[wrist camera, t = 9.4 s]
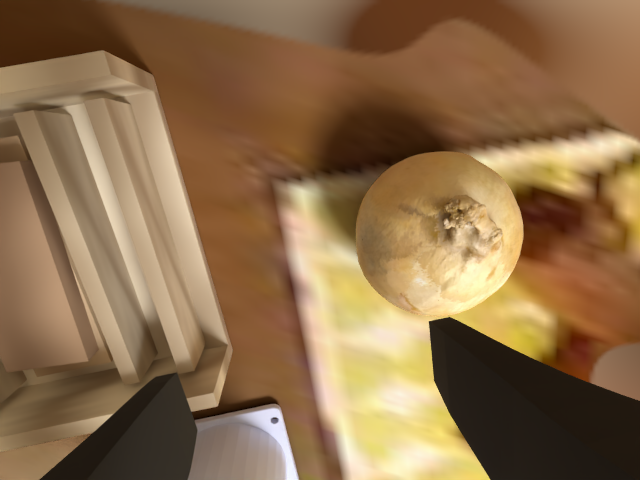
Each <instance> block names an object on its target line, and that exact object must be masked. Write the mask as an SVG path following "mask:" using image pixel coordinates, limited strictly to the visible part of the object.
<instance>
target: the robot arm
mask: <svg viewBox="0 0 640 480" xmlns="http://www.w3.org/2000/svg"><path fill="white" fill-rule="evenodd" d="M429 328H430V339H431V350H432V361H433V372H434V381H435V383H436V385H437V388H438V390H439V392H440V394H441V396H442V398H443V401H444V403H445V405H446V407H447V409H448V411H449V413H450V415H451V417H452V418H453V420H454V421H455V423H456V425H457V426H458V428H459V430H460V431H461V433H462V434H463V436H464V438H465V439H466V441H467V443H468V444H469V446H470V447H471V449H472V451H473V452H474V454H475V455H476V457H477V459H478V460H479V462H480V463H481V465H482V467H483V468H484V470H485V471H486V473H487V475H488V476H489V478H490V479H491V480H640V401H638V400H635V399H632V398H629V397H626V396H623V395H621V394H618V393H615V392H612V391H610V390H607V389H604V388H602V387H599V386H597V385H594V384H591V383H589V382H586V381H583V380H581V379H578V378H576V377H573V376H571V375H568V374H566V373H564V372H561V371H559V370H557V369H555V368H552V367H550V366H548V365H546V364H543V363H541V362H539V361H537V360H534V359H532V358H530V357H528V356H526V355H524V354H522V353H520V352H518V351H516V350H514V349H512V348H510V347H508V346H506V345H504V344H502V343H500V342H498V341H496V340H494V339H492V338H490V337H488V336H486V335H484V334H482V333H480V332H478V331H476V330H475V329H473V328H471V327H469V326H467V325H465V324H463V323H461V322H459V321H457V320H455V319H453V318H451V317H448V318H443V319H438V320H433V321H429ZM273 417H277V419H272V418H273ZM40 480H299V477H298V474H297V470H296V466H295V462H294V458H293V454H292V450H291V446H290V442H289V439H288V435H287V431H286V427H285V423H284V419H283V415H282V411H281V408H280V406H279V405H277V404H269V405H264V406H259V407H255V408H250V409H245V410H240V411H236V412H231V413H226V414H222V415H217V416H212V417H207V418H203V419H198V420H194V418H193V415H192V412H191V410H190V407H189V404H188V401H187V398H186V396H185V393H184V390H183V387H182V384H181V382H180V379H179V376H178V373H177V372H176V373H171V374H166V375H161V376H156V377H154V378H153V379H152V380H151V381H149V382H148V383H147V384H146V385H145V386H144V387H142V388H141V389H140V390H139V391H138V392H137V393H136V394H135V395H133V396H132V397H131V398H130V399H129V400H128V401H127V402H126V403H125V404H124V405H123V406H122V407H120V408H119V409H118V410H117V411H116V412H115V413H114V414H113V415H112V416H111V417H110V418H109V419H107V420H106V421H105V422H104V423H103V424H102V425H101V426H100V427H99V428H98V429H97V430H96V431H94V432H93V433H92V434H91V435H90V436H89V437H88V438H87V439H86V440H85V441H83V442H82V443H81V444H80V445H79V446H78V447H76V448H75V449H74V450H73V451H72V452H71V453H70V454H68V455H67V456H66V457H65V458H64V459H63V460H62V461H60V462H59V463H58V464H57V465H56V466H55V467H53V468H52V469H51V470H50V471H49V472H48V473H47V474H45V475H44V476H43V477H42V478H41V479H40Z"/></svg>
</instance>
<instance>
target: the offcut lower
mask: <svg viewBox="0 0 640 480" xmlns="http://www.w3.org/2000/svg"><path fill="white" fill-rule="evenodd" d="M30 160H32V159H31V156H30V154H29V152H28V149H27V147H26V144H25V142H24V139H23V137H22V136H21V135H17V136H11V137H6V138H0V163H7V162H17V161H30ZM54 216H55V215H54ZM55 219H56V217H55ZM56 222H57V220H56ZM57 225H58V222H57ZM58 228H59V231H60V234H61V237H62V240H63V243H64V246H65V249H66V252H67V255H68V258H69V261H70V264H71V267H72V270H73V273H74V276H75V279H76V282H77V285H78V288H79V291H80V294H81V297H82V300H83V303H84V306H85V309H86V312H87V315H88V318H89V321H90V324H91V327H92V330H93V333H94V336H95V339H96V342H97V345H98V348H99V350H98V351H97V352H96V354H95V355H94V356H93V357H92V358H91V359H90V360H89V361H86V362H79V363H72V364H65V365H58V366H50V367H43V368H36V369H33V370H34V372H35V374H36V376H37V377H40V376H45V375H50V374H55V373H60V372H65V371H70V370H75V369H80V368H84V367H89V366H94V365H99V364H104V363H109V362H112V360H113V357H112V354H111V352H110V349H109V347H108V344H107V342H106V340H105V337H104V335H103V332H102V330H101V327H100V325H99V322H98V320H97V318H96V315H95V313H94V310H93V308H92V305H91V303H90V300H89V298H88V296H87V293H86V291H85V288H84V286H83V283H82V281H81V279H80V276H79V274H78V271H77V269H76V266H75V264H74V261H73V259H72V257H71V254H70V252H69V249H68V247H67V244H66V242H65V239H64V237H63V235H62V232H61V230H60V227H59V225H58Z"/></svg>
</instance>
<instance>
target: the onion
mask: <svg viewBox="0 0 640 480" xmlns="http://www.w3.org/2000/svg"><path fill="white" fill-rule="evenodd" d="M522 241H523V221H522V217H521V212H520V209H519V207H518V205H517V202H516V200H515V198H514V195H513V193H512V191H511V189H510V188H509V186H508V185H507V183H506V182H505V181H504V180H503V178H502V177H501V176H500V175H499V174H497V173H496V172H495V171H493V170H492V169H490V168H489V167H487V166H486V165H484V164H482V163H480V162H479V161H477V160H476V159H474V158H473V157H471V156H469V155H467V154H464V153H460V152H448V151H447V152H446V151H445V152H444V151H442V152H429V153H423V154H418V155H414V156H411V157H409V158H406V159H404V160H402V161H400V162H398V163H396V164H395V165H393V166H391V167H390V168H388V169H387V170H386V171H385V172H384V173H382V174H381V175H380V176H379V178H378V179H377V180H376V181H375V182H374V183H373V185H372V186H371V187H370V188H369V190H368V191H367V193H366V195H365V197H364V198H363V200H362V202H361V206H360V209H359V212H358V216H357V222H356V248H357V255H358V262H359V264H360V267H361V269H362V271H363V273H364V276H365V277H366V279H367V280H368V282H369V283H370V284H371V286H372V287H373V288H374V289H375V290H376V291H377V292H378V293H379V294H380V295H381V296H382V297H384V298H385V299H386V300H388V301H389V302H390V303H392V304H393V305H395V306H397V307H399V308H401V309H403V310H405V311H408V312H411V313H414V314H418V315H424V316H446V315H452V314H457V313H460V312H463V311H465V310H468V309H470V308H472V307H474V306H476V305H477V304H479V303H481V302H483V301H484V300H485V299H487V298H488V297H489V296H490V295H492V294H493V293H494V292H496V291H497V290H498V289H499V288H500V287H501V286H502V285H503V284H504V283H505V282H506V280H507V279H508V277H509V276H510V274H511V273H512V271H513V269H514V267H515V265H516V263H517V261H518V258H519V255H520V251H521V246H522Z"/></svg>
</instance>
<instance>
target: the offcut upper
mask: <svg viewBox="0 0 640 480" xmlns="http://www.w3.org/2000/svg"><path fill="white" fill-rule="evenodd" d="M98 350H99V348H98V345H97V342H96V339H95V336H94V333H93V330H92V327H91V324H90V321H89V318H88V315H87V312H86V309H85V306H84V303H83V300H82V297H81V294H80V291H79V288H78V285H77V282H76V279H75V276H74V273H73V270H72V267H71V264H70V261H69V258H68V255H67V252H66V249H65V246H64V243H63V240H62V237H61V234H60V231H59V228H58V225H57V222H56V219H55V216H54V213H53V210H52V208H51V205H50V203H49V200H48V198H47V195H46V193H45V191H44V188H43V186H42V183H41V181H40V178H39V176H38V174H37V171H36V169H35V166H34V164H33V161H32V160H30V161H17V162H7V163H0V358H1V360H2V363H3V365H4V367H5V370H6V372H7V373H8V372H15V371H22V370H29V369H36V368H43V367H50V366H58V365H65V364H72V363H79V362H86V361H89V360H90V359H91V358H92V357H93V356H94V355H95V354H96V352H97V351H98Z"/></svg>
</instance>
